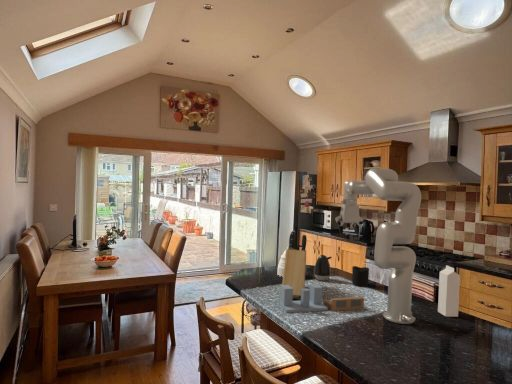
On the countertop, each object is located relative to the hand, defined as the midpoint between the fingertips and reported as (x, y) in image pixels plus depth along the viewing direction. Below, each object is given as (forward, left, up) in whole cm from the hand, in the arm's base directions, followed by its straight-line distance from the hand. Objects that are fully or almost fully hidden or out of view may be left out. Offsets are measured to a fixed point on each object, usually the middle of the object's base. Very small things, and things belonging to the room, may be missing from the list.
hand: (348, 232), depth 189 cm
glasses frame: (-27, +17, -31) cm, 45 cm away
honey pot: (+30, +25, -31) cm, 50 cm away
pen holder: (+4, -11, -31) cm, 34 cm away
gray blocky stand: (-25, +37, -31) cm, 55 cm away
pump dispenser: (+17, +7, -31) cm, 36 cm away
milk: (-44, -27, -31) cm, 60 cm away
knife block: (-1, +32, -31) cm, 45 cm away
